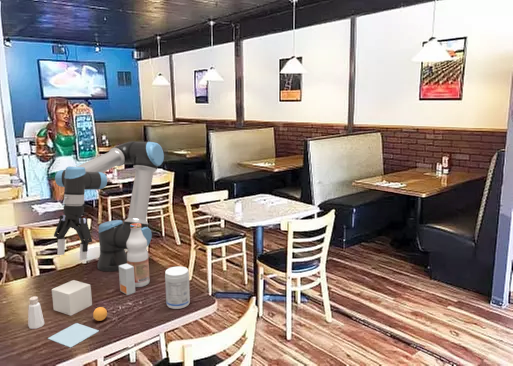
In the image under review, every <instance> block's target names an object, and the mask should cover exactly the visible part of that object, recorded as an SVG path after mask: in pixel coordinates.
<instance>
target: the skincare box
mask: <svg viewBox="0 0 513 366" xmlns="http://www.w3.org/2000/svg"><path fill="white" fill-rule="evenodd" d="M118 276H119V277H118V278H119V280H118V281H119V291H120V293H123V294H125V295H126V296H129V295H132V294H134V293H136V287H135V277H134V267H133V266H131V265H129V264H127V263H126V264H123V265H120V266H119V270H118Z"/></svg>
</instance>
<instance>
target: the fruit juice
mask: <svg viewBox="0 0 513 366" xmlns="http://www.w3.org/2000/svg"><path fill="white" fill-rule="evenodd" d="M130 229H131V232H130V235H129V238H128V240H127V242H126V246H127V249H126V250H127V252H126V255H127V264H129V265H131V266H133V267H134V277H135V288H142V287H145V286H147V285H149V284H150V279H151V278H150V265H149V264H150V263H149V262H150V260H149V251H148V249H147V248H148V246H147V240H146V238H145V237H144V235H143V233H142V231H141V224H140V223H134V224H131V225H130Z"/></svg>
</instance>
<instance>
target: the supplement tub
mask: <svg viewBox="0 0 513 366" xmlns="http://www.w3.org/2000/svg"><path fill="white" fill-rule="evenodd" d="M189 274H190V272H189V269H188V268H187V267H185V266H180V265H179V266H170V267H168V268H167V269H166V270H165V274H164V281H165V283H164V284H165V303H166V307H168V308H169V309H174V310H179V309H180V310H181V309H184V308H186V307H189V304H190V303H191V302H190V301H191V298H190V275H189Z"/></svg>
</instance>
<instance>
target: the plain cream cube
mask: <svg viewBox="0 0 513 366" xmlns="http://www.w3.org/2000/svg"><path fill="white" fill-rule="evenodd" d="M91 286H92V285H91V284H89V283H86V282H83V281H78V280H75V279H73V280H69V281H68V282H66V283H63V284H60V285H59V286H56V287H54V288H52V289H51V297H52V305H53V306H52V307H53V311H56V312H58V313H62V314H64V315H68V316H70V317H71V316H73V315H75V314H77V313H79V312H81V311H84V310H86V309H88V308H89V307H91V306H93V300H92V287H91Z"/></svg>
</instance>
